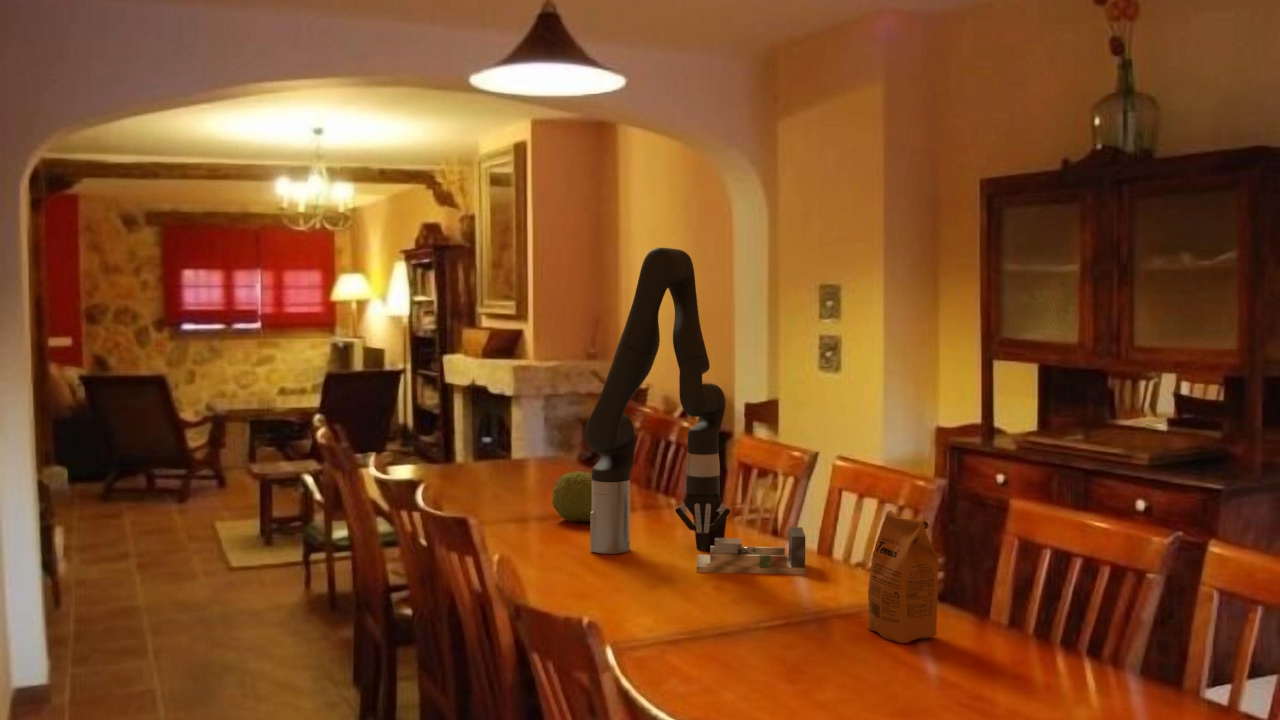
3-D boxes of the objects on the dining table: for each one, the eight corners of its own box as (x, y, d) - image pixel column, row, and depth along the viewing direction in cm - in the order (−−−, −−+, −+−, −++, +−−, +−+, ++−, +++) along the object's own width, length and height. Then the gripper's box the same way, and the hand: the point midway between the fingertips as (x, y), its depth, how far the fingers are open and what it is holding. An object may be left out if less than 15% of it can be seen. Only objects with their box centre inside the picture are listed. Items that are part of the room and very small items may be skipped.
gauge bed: (696, 572, 254) (696, 535, 253) (697, 559, 266) (697, 524, 265) (805, 574, 252) (805, 537, 252) (801, 561, 264) (801, 526, 264)
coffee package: (904, 622, 216) (906, 507, 215) (944, 641, 204) (946, 519, 203) (859, 627, 212) (860, 510, 211) (897, 647, 201) (899, 523, 199)
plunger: (714, 565, 253) (714, 546, 253) (714, 556, 262) (714, 537, 262) (755, 566, 253) (755, 547, 252) (754, 557, 262) (754, 538, 261)
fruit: (605, 514, 319) (622, 470, 313) (599, 543, 307) (616, 498, 300) (550, 496, 319) (565, 452, 312) (541, 524, 306) (557, 479, 299)
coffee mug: (725, 553, 272) (725, 512, 271) (689, 551, 274) (689, 510, 273) (731, 543, 283) (731, 503, 283) (696, 541, 285) (696, 501, 284)
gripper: (672, 475, 255) (672, 551, 256) (732, 475, 254) (732, 552, 255) (674, 469, 262) (674, 544, 263) (732, 470, 261) (731, 545, 262)
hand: (702, 548), depth 259 cm, fingers closed
